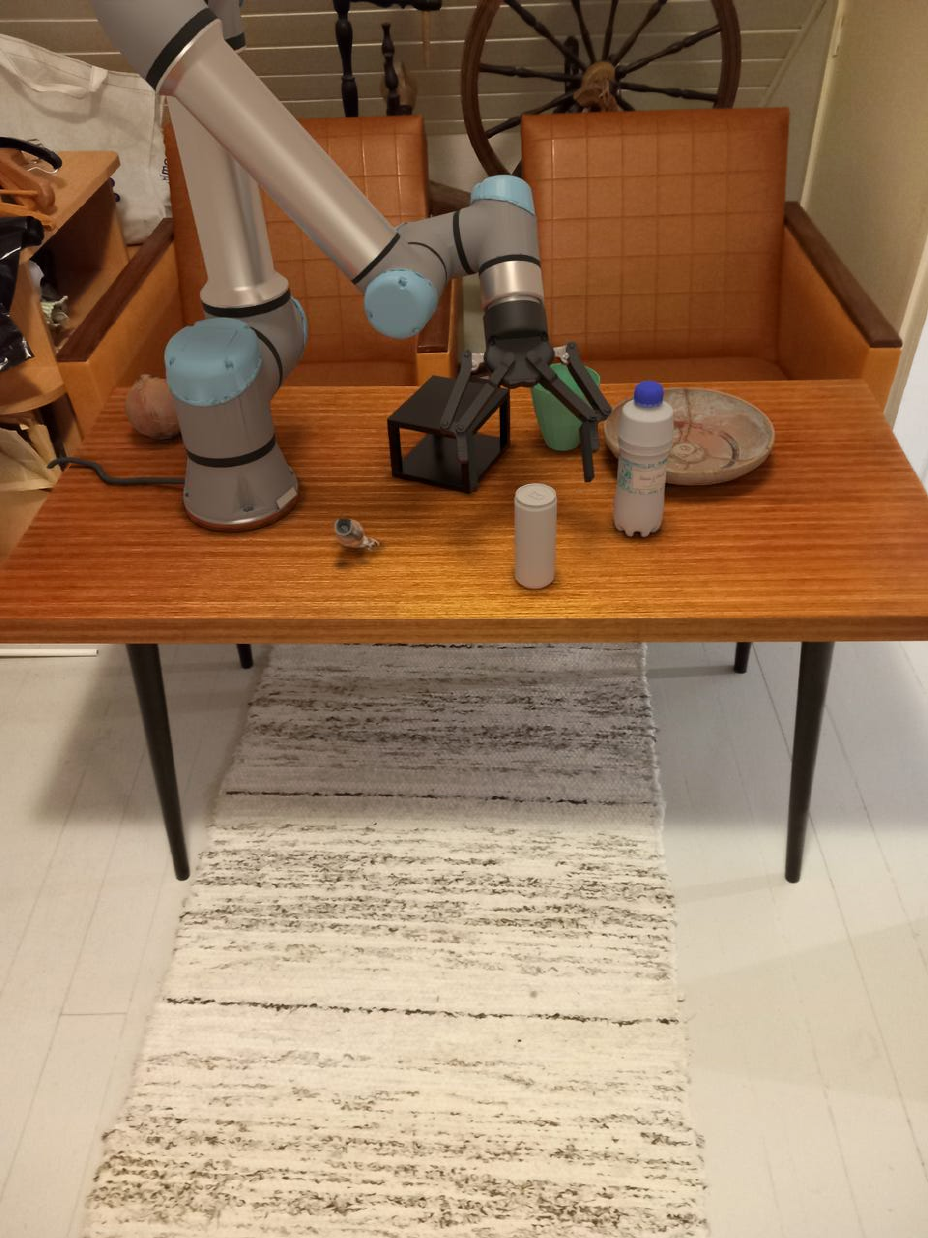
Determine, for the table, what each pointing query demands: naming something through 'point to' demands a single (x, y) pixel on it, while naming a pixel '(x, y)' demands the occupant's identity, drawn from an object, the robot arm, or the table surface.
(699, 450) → the ceramic bowl
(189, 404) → the robot arm
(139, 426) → the onion
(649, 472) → the bottle
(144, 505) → the table surface
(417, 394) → the rack
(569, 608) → the table surface
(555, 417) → the mug
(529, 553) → the beverage can
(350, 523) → the seashell
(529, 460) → the table surface
